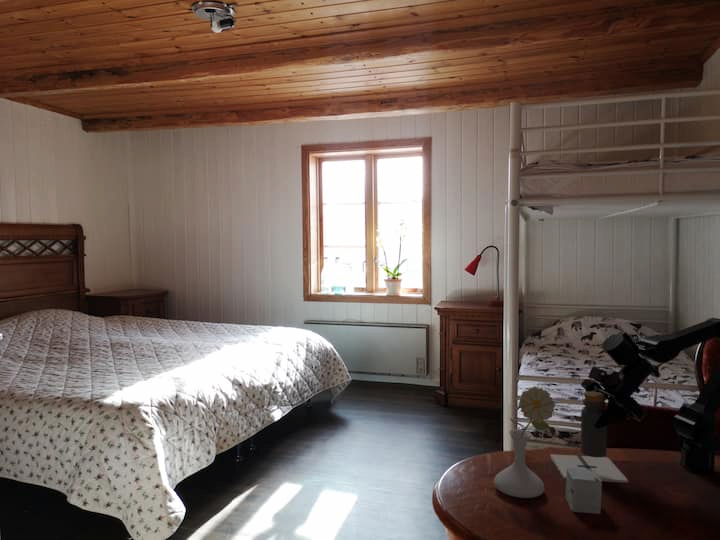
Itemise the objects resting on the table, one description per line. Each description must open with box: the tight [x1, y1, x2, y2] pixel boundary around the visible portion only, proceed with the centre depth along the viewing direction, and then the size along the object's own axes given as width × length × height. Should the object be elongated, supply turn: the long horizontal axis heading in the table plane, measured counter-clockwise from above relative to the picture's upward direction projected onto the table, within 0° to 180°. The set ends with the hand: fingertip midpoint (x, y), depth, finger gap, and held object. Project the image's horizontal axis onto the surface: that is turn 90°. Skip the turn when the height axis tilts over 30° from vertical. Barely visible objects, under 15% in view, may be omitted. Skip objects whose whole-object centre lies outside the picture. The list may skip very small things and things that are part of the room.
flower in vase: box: [493, 386, 556, 499], centre depth 122 cm, size 13×11×25 cm
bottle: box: [580, 391, 608, 457], centre depth 132 cm, size 6×6×15 cm
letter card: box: [549, 454, 629, 484], centre depth 136 cm, size 15×14×1 cm
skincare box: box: [565, 468, 603, 515], centre depth 116 cm, size 6×6×7 cm
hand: (588, 423), depth 131 cm, fingers closed on bottle, 6 cm apart
